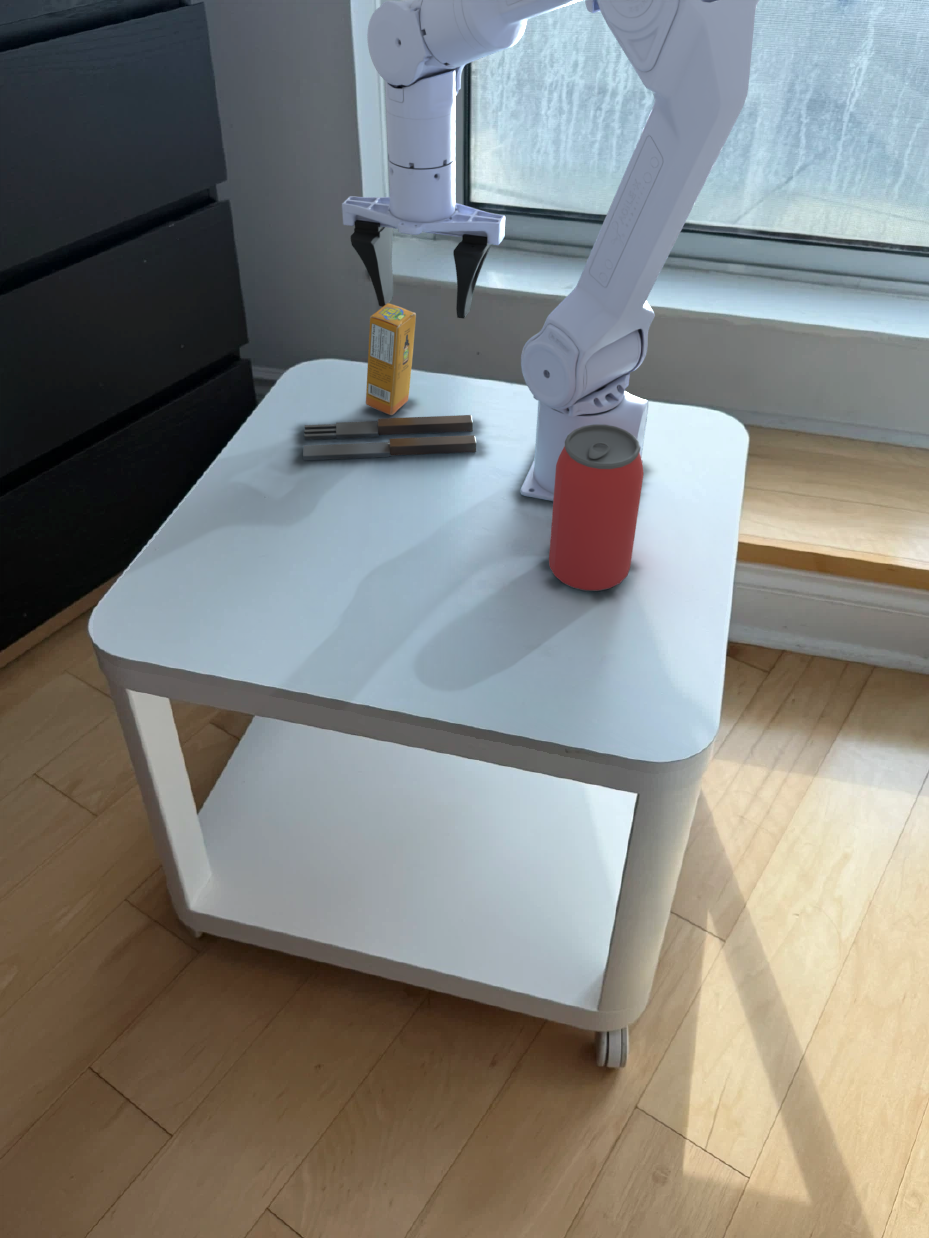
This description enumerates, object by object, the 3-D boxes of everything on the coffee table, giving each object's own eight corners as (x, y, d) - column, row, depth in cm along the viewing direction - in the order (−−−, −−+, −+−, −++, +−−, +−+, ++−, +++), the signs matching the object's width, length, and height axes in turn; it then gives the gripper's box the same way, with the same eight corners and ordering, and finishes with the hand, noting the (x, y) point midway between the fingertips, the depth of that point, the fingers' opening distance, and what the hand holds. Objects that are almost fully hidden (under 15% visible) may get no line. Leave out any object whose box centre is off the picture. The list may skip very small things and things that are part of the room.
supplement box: (379, 389, 107) (388, 299, 100) (408, 402, 106) (420, 313, 99) (361, 404, 105) (369, 313, 98) (391, 418, 104) (401, 328, 97)
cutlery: (470, 421, 104) (471, 412, 103) (476, 453, 100) (476, 444, 99) (305, 428, 103) (303, 419, 102) (303, 460, 98) (302, 451, 98)
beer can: (534, 579, 86) (543, 453, 78) (567, 535, 90) (579, 411, 82) (611, 605, 84) (627, 478, 76) (641, 558, 88) (660, 434, 80)
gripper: (324, 164, 89) (336, 315, 98) (490, 184, 86) (487, 338, 95) (355, 137, 94) (363, 283, 103) (513, 155, 91) (508, 304, 100)
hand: (424, 308), depth 100 cm, fingers open, 7 cm apart
